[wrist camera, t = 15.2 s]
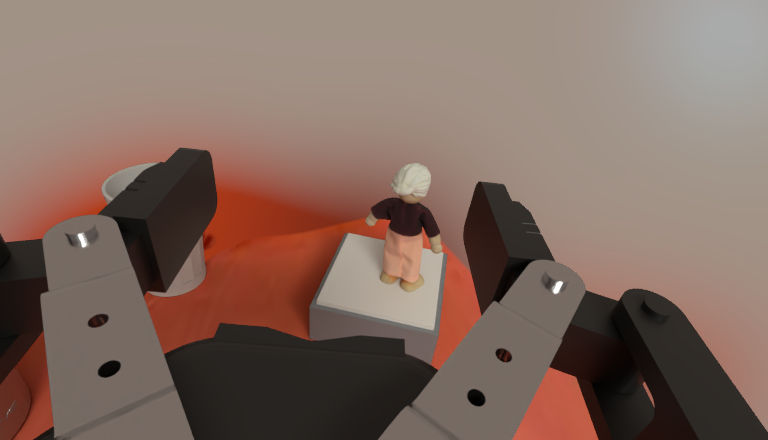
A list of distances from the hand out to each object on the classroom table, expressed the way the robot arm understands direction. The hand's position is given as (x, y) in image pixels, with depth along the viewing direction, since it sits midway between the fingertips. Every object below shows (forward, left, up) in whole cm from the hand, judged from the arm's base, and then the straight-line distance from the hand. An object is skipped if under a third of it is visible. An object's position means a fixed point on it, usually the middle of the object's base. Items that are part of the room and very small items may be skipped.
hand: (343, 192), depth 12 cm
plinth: (0, +20, -26) cm, 33 cm away
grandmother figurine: (+1, +20, -21) cm, 30 cm away
